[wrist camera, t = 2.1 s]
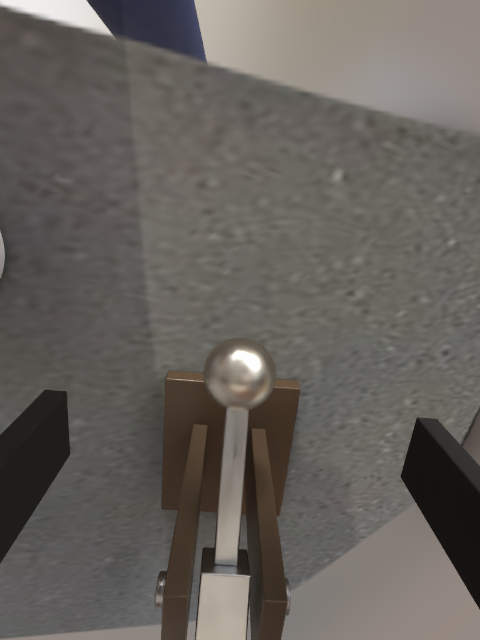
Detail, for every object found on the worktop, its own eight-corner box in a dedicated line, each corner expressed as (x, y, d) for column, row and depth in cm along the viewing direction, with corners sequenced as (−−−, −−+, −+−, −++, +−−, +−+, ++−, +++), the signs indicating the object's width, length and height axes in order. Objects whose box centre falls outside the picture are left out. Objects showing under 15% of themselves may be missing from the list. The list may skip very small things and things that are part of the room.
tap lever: (207, 337, 20) (205, 331, 17) (273, 343, 21) (284, 337, 17) (184, 599, 19) (176, 654, 15) (255, 603, 19) (264, 658, 15)
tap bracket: (168, 370, 26) (109, 529, 13) (297, 380, 26) (353, 543, 14) (164, 497, 29) (113, 713, 17) (278, 504, 29) (308, 720, 17)
